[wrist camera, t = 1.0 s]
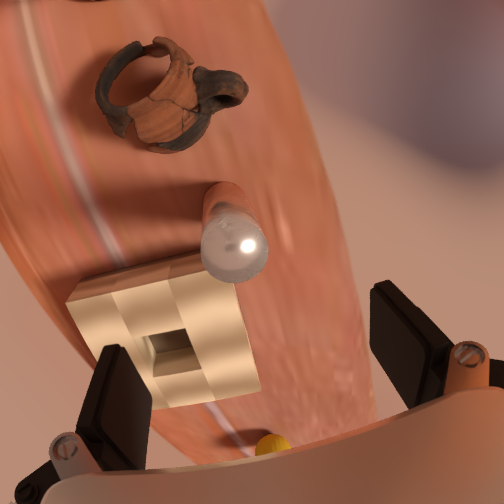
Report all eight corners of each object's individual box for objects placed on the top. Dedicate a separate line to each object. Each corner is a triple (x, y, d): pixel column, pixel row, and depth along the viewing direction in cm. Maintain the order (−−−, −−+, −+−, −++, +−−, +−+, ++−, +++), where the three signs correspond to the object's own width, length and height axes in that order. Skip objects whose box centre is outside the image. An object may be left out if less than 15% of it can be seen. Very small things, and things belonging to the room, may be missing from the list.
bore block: (81, 278, 31) (65, 303, 26) (223, 243, 31) (227, 265, 27) (135, 383, 37) (130, 411, 33) (255, 361, 38) (261, 390, 33)
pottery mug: (132, 169, 28) (78, 141, 20) (138, 86, 28) (96, 45, 20) (259, 149, 26) (238, 103, 18) (253, 61, 26) (233, 4, 18)
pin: (198, 187, 29) (192, 229, 18) (241, 177, 29) (261, 213, 18) (209, 227, 31) (210, 289, 20) (249, 217, 31) (273, 274, 20)
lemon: (274, 420, 43) (285, 462, 36) (292, 433, 46) (303, 472, 38) (245, 434, 44) (251, 476, 37) (264, 446, 46) (272, 485, 39)
